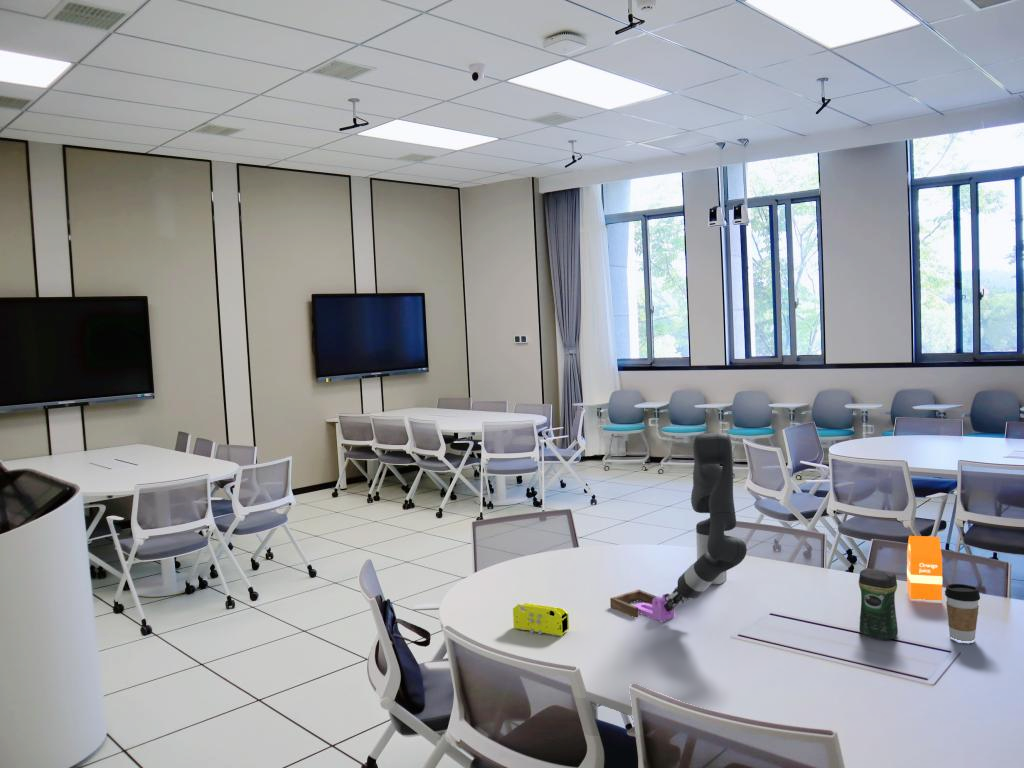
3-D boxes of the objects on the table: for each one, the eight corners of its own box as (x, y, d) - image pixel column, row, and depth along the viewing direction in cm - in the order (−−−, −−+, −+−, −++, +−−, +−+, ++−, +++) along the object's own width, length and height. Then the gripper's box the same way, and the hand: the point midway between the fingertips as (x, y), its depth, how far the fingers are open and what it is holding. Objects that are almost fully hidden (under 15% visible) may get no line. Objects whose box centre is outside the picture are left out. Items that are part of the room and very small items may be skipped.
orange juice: (942, 603, 239) (942, 540, 238) (910, 601, 242) (910, 538, 241) (937, 594, 247) (937, 533, 245) (906, 592, 250) (906, 532, 248)
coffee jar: (901, 634, 218) (901, 570, 216) (891, 643, 212) (891, 577, 211) (865, 626, 225) (865, 563, 223) (855, 634, 219) (854, 570, 218)
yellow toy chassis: (513, 631, 232) (511, 604, 232) (521, 624, 237) (520, 597, 237) (561, 639, 225) (560, 611, 224) (569, 631, 230) (568, 604, 229)
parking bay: (639, 598, 254) (638, 589, 254) (664, 608, 245) (664, 599, 245) (610, 607, 248) (610, 598, 247) (635, 617, 238) (634, 608, 238)
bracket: (674, 617, 237) (673, 595, 237) (661, 621, 234) (661, 599, 233) (643, 605, 248) (643, 584, 247) (631, 610, 245) (630, 588, 244)
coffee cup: (967, 648, 207) (968, 594, 206) (938, 637, 215) (938, 585, 213) (986, 641, 211) (987, 588, 210) (956, 631, 218) (956, 579, 217)
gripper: (704, 563, 229) (676, 592, 241) (673, 573, 222) (644, 602, 233) (719, 585, 225) (689, 614, 237) (687, 595, 218) (657, 625, 229)
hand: (667, 608), depth 235 cm, fingers closed
